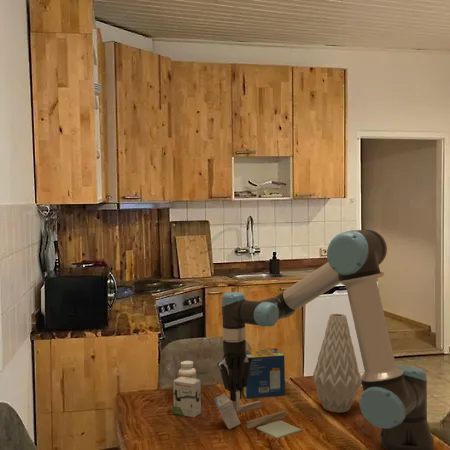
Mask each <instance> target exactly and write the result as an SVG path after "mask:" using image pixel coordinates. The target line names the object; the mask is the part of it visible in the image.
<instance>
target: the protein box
mask: <svg viewBox="0 0 450 450" xmlns="http://www.w3.org/2000/svg"><path fill="white" fill-rule="evenodd" d="M245 353H246V356H248V357H250V358H252V361H251V364H250V367H249V373H248V379H247V385H246V387H244V388H243V391H241V394H243V396H244V398H245V399H257V398H259V397H260V398H272V397H284V396H286V372H285V371H286V370H285V355H284V353H282V352H281V351H280V350H279V349H278V348H267V349H266V348H265V349H253V350H252V349H251V350H245Z"/></svg>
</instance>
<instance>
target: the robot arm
mask: <svg viewBox="0 0 450 450" xmlns="http://www.w3.org/2000/svg"><path fill="white" fill-rule="evenodd" d="M387 255H388V246H387V242H386V240H385V238H384V236H382V235H381V234H380V233H379V232H377V231H376V230H372V229H369V228H368V229H365V228H364V229H356V230H355V229H353V230H346V231H344V232H343V231H342V232H341V233H338V234H336V235H335V236H334V237H333V238H332V239H331V240H330V242H329V243H328V246H327V249H326V259H327V262H326V263H324V264H323V265H321V266H320V267H318V268H317V269H315V270H314V271H312V272H311V273H310V274H308V275H306V276H305V277H303V278H301V279H300V280H299V281H297V282H296V283H293V285H291V286H290V287H288V288H286V289H285V290H283V291H282V292H281V293H279V294H277V295H275V296H273V297H269V298H266V299H261V300H257V301H256V300H248V299H246V298H245V293H243V292H241V291H230V292H225V293H223V294H222V295H221V318H222V339H223V340H222V350H223V358H222V361H220V362H217V364H216V366H217V368H218V369H219V371H220V374H221V378H222V379H221V380H222V382H223V387H224V389H225V390H226V391H228V392H229V395H230V398H229V399H230V400H231V402H232V404H233V407H234V409H235V410H236V411H240V406H241V400H242V397H243V396H242V394H243V393H242V391H243V388H244V387H246V385H247V379H248V373H249V367H250V364H251V361H252V358H250V357H248V356H246V353H245V351H247V345H246V343H247V342H246V333H247V332H246V324H247V325H252V326H259V327H274V326H275V325H276V323H277V322H278V320H281V319H286V318H289V317H290V316H292V315H294V314H295V312H296V311H297V310H299V309H301V308H302V307H304V306H305V305H307V304H309V303H310V302H312V301H314V300H315V299H317V298H319V297H320V296H322V295H324V293H326V292H327V293H328V291H330V290H331V289H333V288H335V287H336V286H338V285H339V284H341V285H343V286H344V287H345V288H346V292H347V297H348V302H349V306H350V311H351V315H352V320H353V324H354V329H355V333H356V339H357V343H358V347H359V352H360V356H361V357H360V358H361V360H362V365H363V370H364V372H363V374H362V375H361V386H362V387H361V388H362V392H361V395H360V397H359V402H358V403H359V409H360V412H361V414H362V416H363V418H364V419H365V420H366V422H369V423H370V424H371V425H372V426H374V427H376V428H379V429H381V431H380V433H379V444H380V445H381V447H383V448H384V449H385V450H434V446H435V443H434V442H435V441H434V437H433V435H432V431H431V429H430V426H429V423H428V405H427V404H428V396H427V395H428V394H427V393H428V388H427V387H428V385H427V384H428V380H427V372H426V371H425V370H424V369H423V368H420V367H416V366H411V365H404V364H403V365H402V364H401V365H400V364H396V360H395V356H394V353H393V347H392V342H391V339H390V335H389V331H388V326H387V322H386V317H385V313H384V308H383V304H382V300H381V295H380V289H379V285H378V279H379V278H380V276H381V274H382V273H381V269H380V264H382V263H383V262H384V260H385V258H386V256H387Z"/></svg>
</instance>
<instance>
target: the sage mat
mask: <svg viewBox="0 0 450 450" xmlns="http://www.w3.org/2000/svg"><path fill="white" fill-rule="evenodd" d="M256 430H258V431H260V432H262V433H264V434H266V435H268V436H270V437H272V438H275V439H278V440H279V439H281V438H284V437H287V436H290V435H293V434H296V433H299V432H301V431H302V429H301V428H299V427H296V426H294V425H291V424H290V423H287V422H285V421H283V420H281V419H279V420H276V421H273V422H269V423H266V424H263V425H259V426H256Z"/></svg>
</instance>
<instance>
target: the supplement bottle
mask: <svg viewBox="0 0 450 450" xmlns="http://www.w3.org/2000/svg"><path fill="white" fill-rule="evenodd" d="M179 377H187V378H193V379H197V370H196V368H194V361H193V360H184V361H181V362H180V368H179V370H178V378H179Z"/></svg>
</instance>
